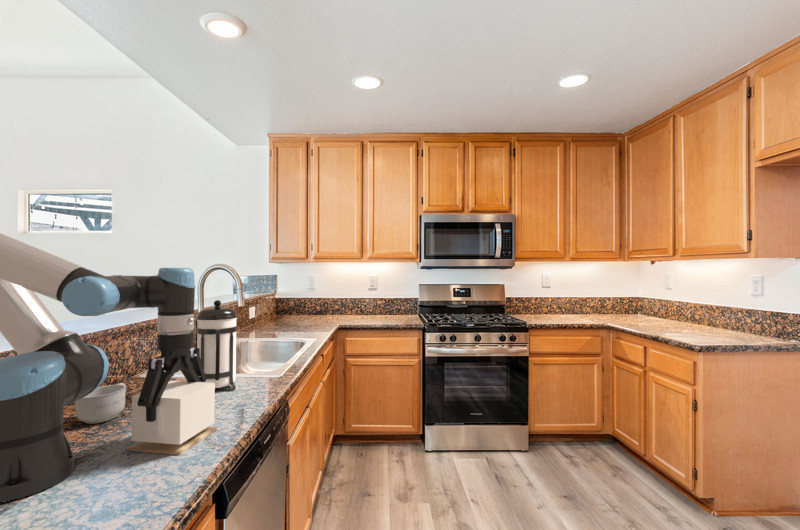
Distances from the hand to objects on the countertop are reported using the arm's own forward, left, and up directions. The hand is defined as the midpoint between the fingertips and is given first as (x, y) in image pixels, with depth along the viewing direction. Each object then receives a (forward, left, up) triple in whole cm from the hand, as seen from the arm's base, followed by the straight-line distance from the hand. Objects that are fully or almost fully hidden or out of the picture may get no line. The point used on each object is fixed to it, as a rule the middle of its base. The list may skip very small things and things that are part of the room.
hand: (174, 423), depth 90 cm
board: (0, 0, -4) cm, 4 cm away
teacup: (+10, +28, -4) cm, 30 cm away
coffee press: (+37, +13, -4) cm, 39 cm away
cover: (0, 0, -2) cm, 2 cm away
